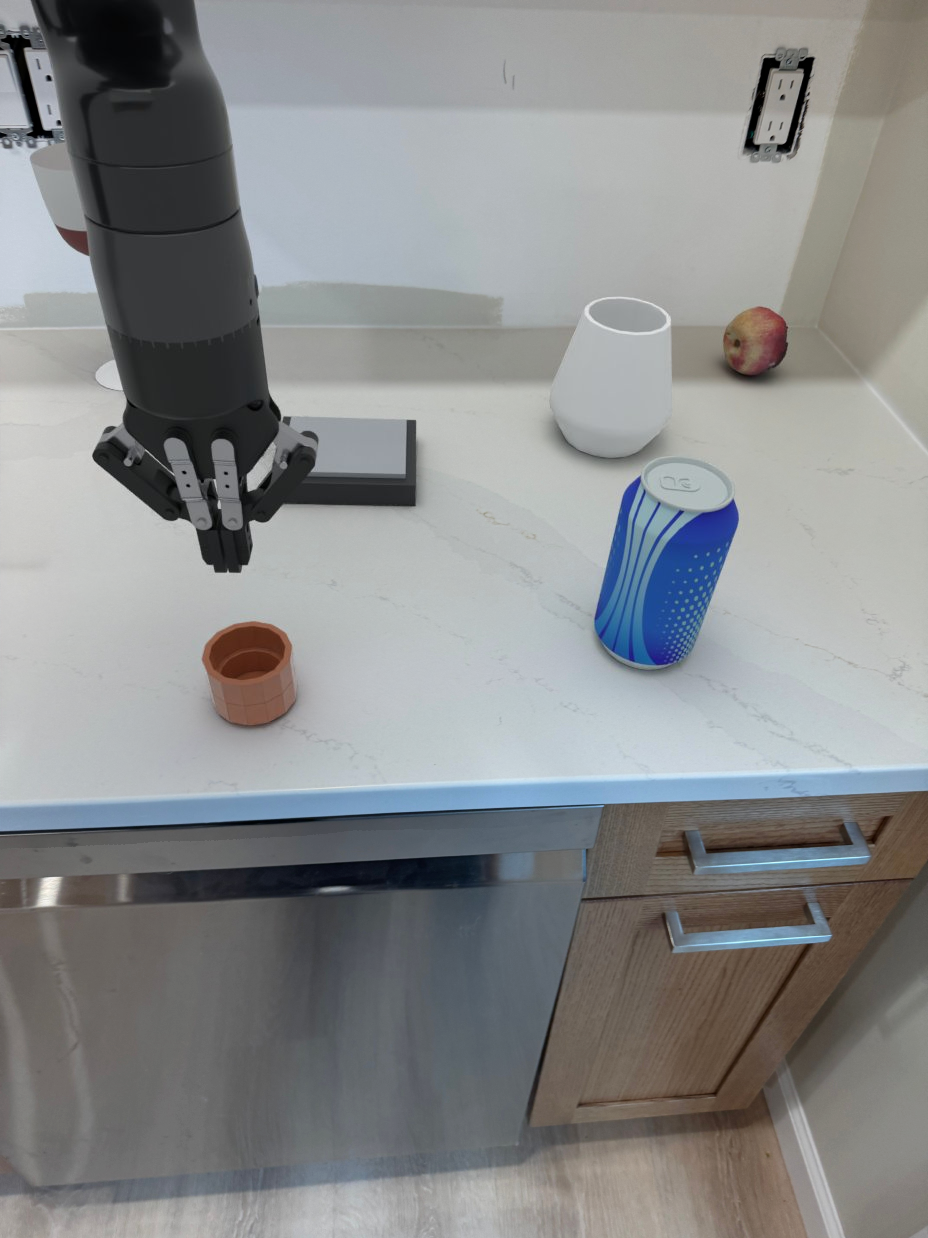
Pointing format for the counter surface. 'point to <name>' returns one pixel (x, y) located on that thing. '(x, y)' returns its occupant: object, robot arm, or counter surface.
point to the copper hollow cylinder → (250, 672)
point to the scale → (359, 461)
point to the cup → (615, 378)
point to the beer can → (665, 561)
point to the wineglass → (67, 218)
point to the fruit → (755, 341)
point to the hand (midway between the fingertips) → (230, 564)
